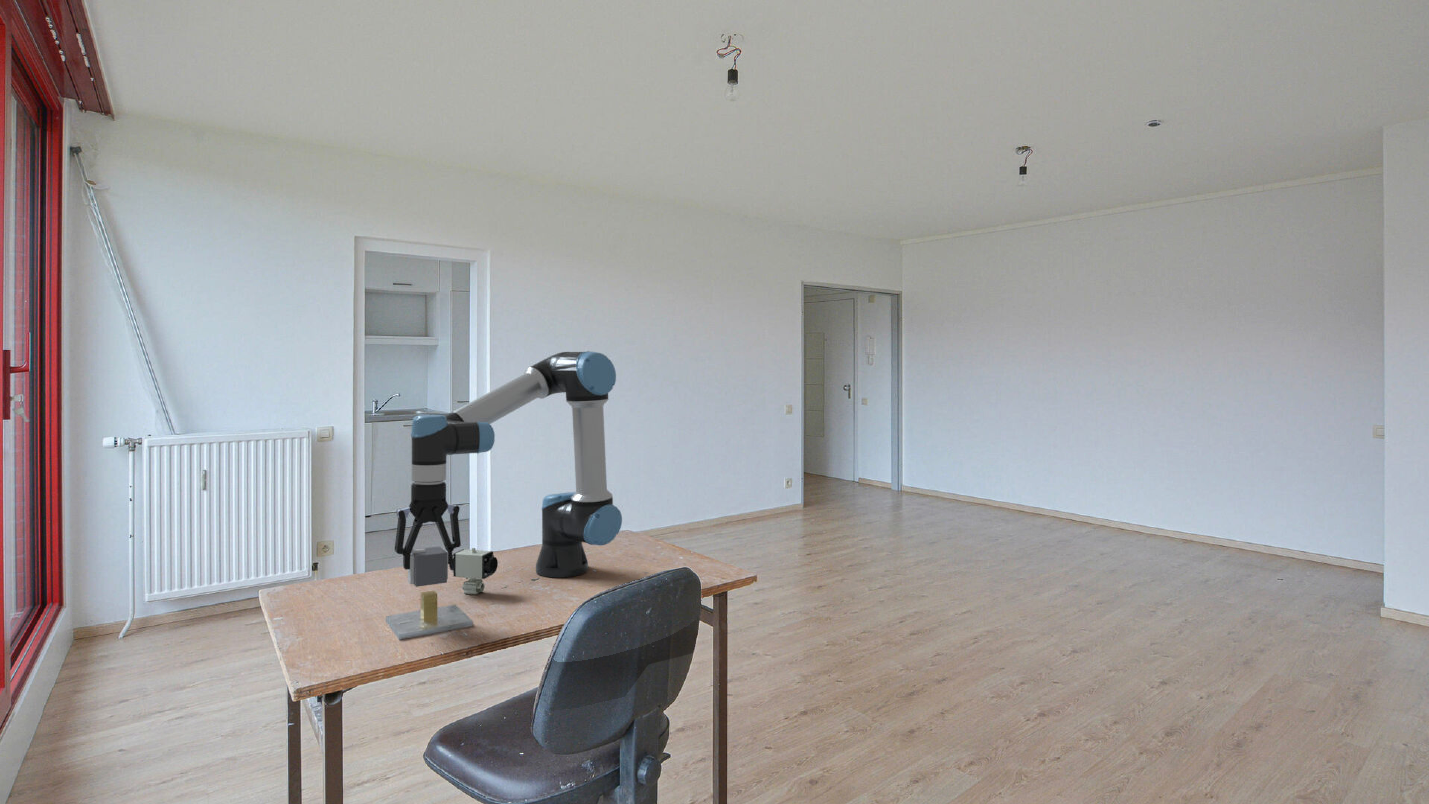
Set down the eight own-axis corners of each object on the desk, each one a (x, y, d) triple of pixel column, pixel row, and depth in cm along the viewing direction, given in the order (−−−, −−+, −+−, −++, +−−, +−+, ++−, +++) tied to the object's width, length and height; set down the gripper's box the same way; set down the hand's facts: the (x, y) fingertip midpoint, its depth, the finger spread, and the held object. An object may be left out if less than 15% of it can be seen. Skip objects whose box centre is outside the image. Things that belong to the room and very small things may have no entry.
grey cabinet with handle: (438, 575, 174) (439, 544, 174) (446, 582, 168) (447, 550, 168) (408, 579, 170) (409, 547, 170) (415, 586, 164) (416, 553, 164)
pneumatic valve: (489, 597, 190) (489, 551, 189) (448, 593, 192) (448, 548, 192) (499, 591, 195) (499, 546, 195) (459, 587, 198) (459, 544, 197)
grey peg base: (455, 609, 180) (455, 580, 180) (472, 626, 169) (472, 595, 168) (385, 621, 171) (385, 590, 171) (399, 639, 160) (399, 607, 159)
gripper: (467, 477, 177) (466, 570, 178) (379, 482, 166) (378, 582, 167) (476, 481, 171) (475, 578, 172) (386, 487, 160) (385, 590, 160)
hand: (427, 580), depth 169 cm, fingers closed on grey cabinet with handle, 7 cm apart
